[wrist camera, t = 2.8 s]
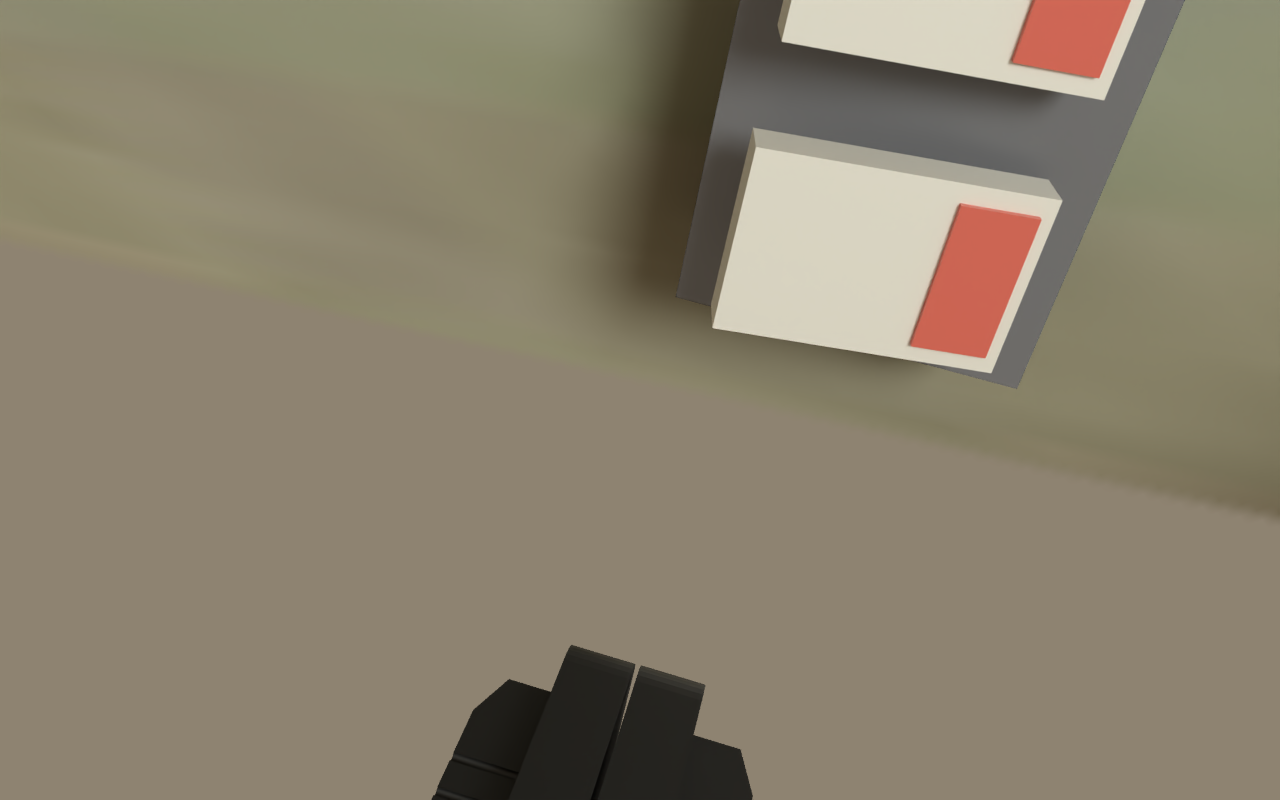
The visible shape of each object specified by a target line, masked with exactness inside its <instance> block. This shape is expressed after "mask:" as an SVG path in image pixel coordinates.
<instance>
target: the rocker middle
mask: <svg viewBox="0 0 1280 800" xmlns="http://www.w3.org/2000/svg"><path fill="white" fill-rule="evenodd" d="M1144 3H1145V0H783V4H782V8H781V12H780V16H779V21H778V25H777V26H778V30H779V34H780V37H781V41H782V42H787V43H792V44H797V45H803V46H808V47H814V48H819V49H825V50H830V51H836V52H841V53H847V54H852V55H858V56H863V57H869V58H874V59H880V60H885V61H891V62H896V63H902V64H907V65H913V66H918V67H924V68H929V69H935V70H940V71H946V72H951V73H957V74H962V75H968V76H973V77H978V78H984V79H989V80H995V81H1000V82H1006V83H1011V84H1017V85H1022V86H1028V87H1033V88H1039V89H1044V90H1050V91H1055V92H1061V93H1066V94H1072V95H1077V96H1083V97H1088V98H1094V99H1099V100H1105V97H1106V95H1107V92H1108V90H1109V87H1110V85H1111V83H1112V80H1113V78H1114V75H1115V73H1116V71H1117V68H1118V66H1119V63H1120V61H1121V58H1122V56H1123V54H1124V51H1125V49H1126V46H1127V44H1128V41H1129V39H1130V37H1131V34H1132V32H1133V29H1134V27H1135V25H1136V22H1137V20H1138V17H1139V15H1140V12H1141V10H1142V8H1143V5H1144Z"/></svg>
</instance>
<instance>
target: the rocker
mask: <svg viewBox="0 0 1280 800" xmlns="http://www.w3.org/2000/svg"><path fill="white" fill-rule="evenodd" d="M1062 201H1063V200H1062V199H1061V197H1060V196H1059V194H1058V193H1057V191H1056V190H1055V189H1054V187H1053V186H1052V184H1051V183H1050V181H1049V180H1048V179H1042V178H1036V177H1031V176H1025V175H1019V174H1014V173H1008V172H1002V171H997V170H991V169H985V168H980V167H974V166H968V165H963V164H957V163H951V162H946V161H940V160H934V159H929V158H923V157H917V156H912V155H906V154H900V153H895V152H889V151H883V150H877V149H872V148H866V147H860V146H855V145H849V144H843V143H838V142H832V141H826V140H821V139H815V138H809V137H804V136H798V135H792V134H787V133H781V132H775V131H770V130H764V129H758V128H753V130H752V134H751V138H750V143H749V147H748V151H747V155H746V159H745V164H744V168H743V172H742V176H741V180H740V185H739V189H738V193H737V197H736V201H735V206H734V210H733V214H732V218H731V222H730V227H729V231H728V235H727V239H726V243H725V248H724V252H723V256H722V260H721V264H720V269H719V273H718V277H717V281H716V286H715V290H714V294H713V298H712V302H711V313H712V328H715V329H721V330H728V331H734V332H740V333H746V334H752V335H758V336H765V337H771V338H777V339H783V340H789V341H795V342H802V343H808V344H814V345H820V346H826V347H832V348H838V349H845V350H851V351H857V352H863V353H869V354H875V355H882V356H888V357H894V358H900V359H906V360H912V361H919V362H925V363H931V364H937V365H943V366H949V367H955V368H962V369H968V370H974V371H980V372H986V373H992V370H993V368H994V366H995V363H996V361H997V358H998V356H999V354H1000V351H1001V349H1002V346H1003V344H1004V341H1005V339H1006V337H1007V334H1008V332H1009V329H1010V327H1011V324H1012V322H1013V320H1014V317H1015V315H1016V312H1017V310H1018V308H1019V305H1020V303H1021V300H1022V298H1023V295H1024V293H1025V291H1026V288H1027V286H1028V283H1029V281H1030V279H1031V276H1032V274H1033V271H1034V269H1035V266H1036V264H1037V262H1038V259H1039V257H1040V254H1041V252H1042V250H1043V247H1044V245H1045V242H1046V240H1047V237H1048V235H1049V233H1050V230H1051V228H1052V225H1053V223H1054V220H1055V218H1056V216H1057V213H1058V211H1059V208H1060V206H1061V204H1062Z"/></svg>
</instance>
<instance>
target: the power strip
mask: <svg viewBox="0 0 1280 800" xmlns="http://www.w3.org/2000/svg"><path fill="white" fill-rule="evenodd" d="M1184 1H1185V0H1145V3H1144V5H1143V8H1142V10H1141V12H1140V15H1139V17H1138V20H1137V22H1136V25H1135V27H1134V29H1133V32H1132V34H1131V37H1130V39H1129V41H1128V44H1127V46H1126V49H1125V51H1124V54H1123V56H1122V58H1121V61H1120V63H1119V66H1118V68H1117V71H1116V73H1115V75H1114V78H1113V80H1112V83H1111V85H1110V87H1109V90H1108V92H1107V95H1106V97H1105V100H1099V99H1094V98H1088V97H1083V96H1077V95H1072V94H1066V93H1061V92H1055V91H1050V90H1044V89H1039V88H1033V87H1028V86H1022V85H1017V84H1011V83H1006V82H1000V81H995V80H989V79H984V78H978V77H973V76H968V75H962V74H957V73H951V72H946V71H940V70H935V69H929V68H924V67H918V66H913V65H907V64H902V63H896V62H891V61H885V60H880V59H874V58H869V57H863V56H858V55H852V54H847V53H841V52H836V51H830V50H825V49H819V48H814V47H808V46H803V45H797V44H792V43H787V42H782V41H781V37H780V34H779V30H778V26H777V25H778V21H779V16H780V12H781V8H782V4H783V0H740V3H739V7H738V12H737V16H736V21H735V26H734V30H733V35H732V40H731V44H730V49H729V53H728V58H727V63H726V67H725V72H724V76H723V81H722V86H721V90H720V95H719V99H718V104H717V109H716V113H715V118H714V123H713V127H712V132H711V136H710V141H709V146H708V150H707V155H706V159H705V164H704V169H703V173H702V178H701V182H700V187H699V192H698V196H697V201H696V206H695V210H694V215H693V219H692V224H691V229H690V233H689V238H688V242H687V247H686V252H685V256H684V261H683V266H682V270H681V275H680V279H679V284H678V289H677V293H676V297H678V298H681V299H685V300H689V301H692V302H696V303H700V304H704V305H707V306H711V302H712V298H713V294H714V290H715V286H716V281H717V277H718V273H719V269H720V264H721V260H722V256H723V252H724V248H725V243H726V239H727V235H728V231H729V227H730V222H731V218H732V214H733V210H734V206H735V201H736V197H737V193H738V189H739V185H740V180H741V176H742V172H743V168H744V164H745V159H746V155H747V151H748V147H749V143H750V138H751V134H752V130H753V128H758V129H764V130H770V131H775V132H781V133H787V134H792V135H798V136H804V137H809V138H815V139H821V140H826V141H832V142H838V143H843V144H849V145H855V146H860V147H866V148H872V149H877V150H883V151H889V152H895V153H900V154H906V155H912V156H917V157H923V158H929V159H934V160H940V161H946V162H951V163H957V164H963V165H968V166H974V167H980V168H985V169H991V170H997V171H1002V172H1008V173H1014V174H1019V175H1025V176H1031V177H1036V178H1042V179H1048V180H1049V181H1050V183H1051V184H1052V186H1053V187H1054V189H1055V190H1056V191H1057V193H1058V194H1059V196H1060V197H1061V199H1062V200H1063V201H1062V204H1061V206H1060V208H1059V211H1058V213H1057V216H1056V218H1055V220H1054V223H1053V225H1052V228H1051V230H1050V233H1049V235H1048V237H1047V240H1046V242H1045V245H1044V247H1043V250H1042V252H1041V254H1040V257H1039V259H1038V262H1037V264H1036V266H1035V269H1034V271H1033V274H1032V276H1031V279H1030V281H1029V283H1028V286H1027V288H1026V291H1025V293H1024V295H1023V298H1022V300H1021V303H1020V305H1019V308H1018V310H1017V312H1016V315H1015V317H1014V320H1013V322H1012V324H1011V327H1010V329H1009V332H1008V334H1007V337H1006V339H1005V341H1004V344H1003V346H1002V349H1001V351H1000V354H999V356H998V358H997V361H996V363H995V366H994V368H993V370H992V373H986V372H980V371H974V370H968V369H962V368H955V367H949V366H943V365H937V364H931V363H925V362H919V361H915V362H919V363H923V364H926V365H930V366H934V367H937V368H941V369H945V370H949V371H952V372H956V373H960V374H963V375H967V376H971V377H975V378H978V379H982V380H986V381H989V382H993V383H997V384H1001V385H1004V386H1008V387H1012V388H1015V389H1017V387H1018V385H1019V383H1020V380H1021V378H1022V376H1023V373H1024V371H1025V369H1026V366H1027V364H1028V362H1029V359H1030V357H1031V355H1032V353H1033V350H1034V348H1035V346H1036V343H1037V341H1038V339H1039V336H1040V334H1041V332H1042V329H1043V327H1044V325H1045V322H1046V320H1047V318H1048V316H1049V313H1050V311H1051V309H1052V306H1053V304H1054V302H1055V299H1056V297H1057V295H1058V292H1059V290H1060V288H1061V285H1062V283H1063V281H1064V279H1065V276H1066V274H1067V272H1068V269H1069V267H1070V265H1071V262H1072V260H1073V258H1074V255H1075V253H1076V251H1077V248H1078V246H1079V244H1080V242H1081V239H1082V237H1083V235H1084V232H1085V230H1086V228H1087V225H1088V223H1089V221H1090V218H1091V216H1092V214H1093V212H1094V209H1095V207H1096V205H1097V202H1098V200H1099V198H1100V195H1101V193H1102V191H1103V188H1104V186H1105V184H1106V181H1107V179H1108V177H1109V175H1110V172H1111V170H1112V168H1113V165H1114V163H1115V161H1116V158H1117V156H1118V154H1119V151H1120V149H1121V147H1122V144H1123V142H1124V140H1125V138H1126V135H1127V133H1128V131H1129V128H1130V126H1131V124H1132V121H1133V119H1134V117H1135V114H1136V112H1137V110H1138V107H1139V105H1140V103H1141V101H1142V98H1143V96H1144V94H1145V91H1146V89H1147V87H1148V84H1149V82H1150V80H1151V77H1152V75H1153V73H1154V70H1155V68H1156V66H1157V64H1158V61H1159V59H1160V57H1161V54H1162V52H1163V50H1164V47H1165V45H1166V43H1167V40H1168V38H1169V36H1170V33H1171V31H1172V29H1173V27H1174V24H1175V22H1176V20H1177V17H1178V15H1179V13H1180V10H1181V8H1182V6H1183V3H1184ZM911 361H912V360H911Z"/></svg>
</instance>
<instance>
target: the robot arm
mask: <svg viewBox="0 0 1280 800" xmlns="http://www.w3.org/2000/svg"><path fill="white" fill-rule="evenodd" d="M634 669H635V664H633V663H630V662H627V661H623V660H620V659H617V658H613V657H610V656H607V655H603V654H600V653H596V652H593V651H590V650H587V649H583V648H580V647H577V646H573V645H571V646H570V648H569V650H568V652H567V654H566V656H565V658H564V661H563V663H562V666H561V669H560V671H559V674H558V676H557V679H556V681H555V683H554V686H553V688H552V691H551V692H549V691H546V690H543V689H539V688H536V687H533V686H530V685H526V684H523V683H520V682H517V681H513V680H510V679H509V680H507V681H506V682H505V683H504V684H503V685H502V686H501V687H499V688H498V689H497V690H496V691H495V692H494V693H493V694H491V695H490V696H489V697H488V698H487V699H485V700H484V701H483V702H482V703H481V704H480V705H479V706H477V707H476V708H475V709H474V710H473V712H472V714H471V716H470V718H469V720H468V723H467V725H466V727H465V729H464V731H463V733H462V735H461V738H460V740H459V742H458V744H457V746H456V748H455V751H454V754H453V757H452V759H451V760H450V761H449V763H448V765H447V768H446V770H445V772H444V774H443V776H442V778H441V780H440V783H439V785H438V788H437V791H436V794H435V796H433V798H432V800H752V797H753V795H752V792H751V788H750V784H749V780H748V776H747V773H746V769H745V765H744V761H743V757H742V754H741V750H740V749H737V748H734V747H731V746H727V745H724V744H721V743H718V742H714V741H711V740H708V739H704V738H701V737H698V736H695V735H693V734H694V730H695V726H696V722H697V718H698V714H699V710H700V706H701V702H702V697H703V693H704V689H705V685H704V684H701V683H698V682H694V681H691V680H688V679H684V678H681V677H678V676H675V675H671V674H668V673H664V672H661V671H658V670H654V669H651V668H648V667H645V666H641V667H640V669H639V672H638V675H637V678H636V681H635V684H634V687H633V691H632V694H631V697H630V700H629V703H628V706H627V710H626V713H625V716H624V719H623V722H622V718H623V713H624V710H625V706H626V702H627V697H628V694H629V690H630V686H631V681H632V677H633V673H634ZM621 722H622V725H621ZM620 726H621V728H620ZM619 730H620V732H619ZM618 734H619V735H618Z"/></svg>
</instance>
